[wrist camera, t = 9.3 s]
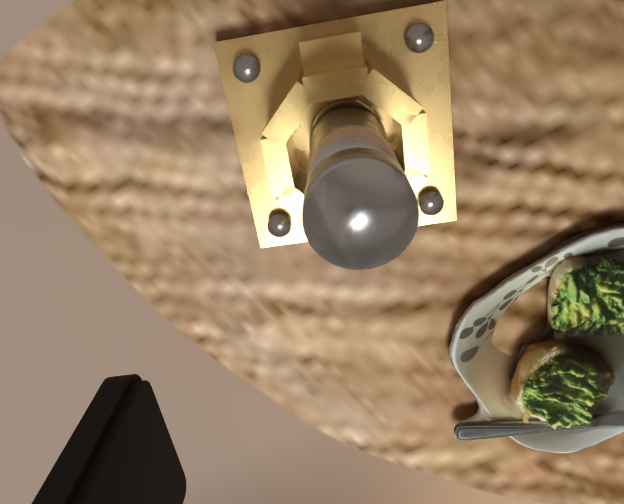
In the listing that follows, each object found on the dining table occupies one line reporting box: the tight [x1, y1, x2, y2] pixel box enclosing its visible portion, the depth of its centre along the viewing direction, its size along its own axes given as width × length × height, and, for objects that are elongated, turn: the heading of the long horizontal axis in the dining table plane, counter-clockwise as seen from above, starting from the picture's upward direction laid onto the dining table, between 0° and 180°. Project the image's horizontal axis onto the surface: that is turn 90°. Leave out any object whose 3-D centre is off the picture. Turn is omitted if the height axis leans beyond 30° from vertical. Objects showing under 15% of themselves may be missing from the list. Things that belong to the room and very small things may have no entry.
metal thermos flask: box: [302, 99, 419, 270], centre depth 24 cm, size 4×4×12 cm
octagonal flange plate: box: [213, 0, 457, 248], centre depth 28 cm, size 12×12×5 cm
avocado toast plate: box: [448, 223, 624, 453], centre depth 35 cm, size 19×18×5 cm
